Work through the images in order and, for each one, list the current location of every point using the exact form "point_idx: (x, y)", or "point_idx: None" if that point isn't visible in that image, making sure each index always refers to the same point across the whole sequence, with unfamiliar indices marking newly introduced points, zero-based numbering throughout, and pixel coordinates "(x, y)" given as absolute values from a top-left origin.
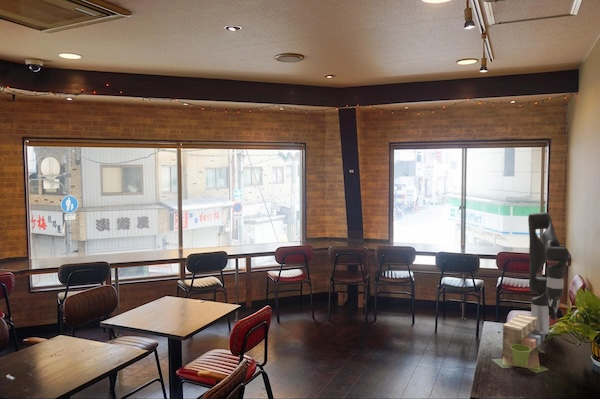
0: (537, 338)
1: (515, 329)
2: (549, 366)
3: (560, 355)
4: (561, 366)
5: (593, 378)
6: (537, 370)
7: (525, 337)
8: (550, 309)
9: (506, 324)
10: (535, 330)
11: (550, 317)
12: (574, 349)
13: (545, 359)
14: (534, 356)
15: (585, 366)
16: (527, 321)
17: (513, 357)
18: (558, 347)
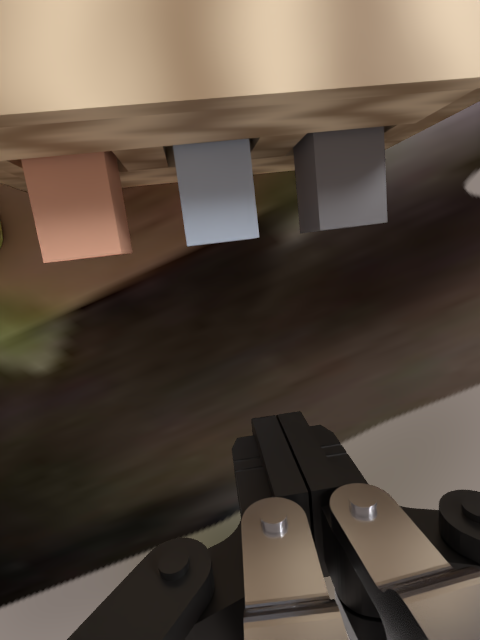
0: (186, 238)
1: None
2: (91, 359)
3: (312, 327)
4: (148, 400)
5: (120, 558)
6: None
7: (95, 154)
8: (165, 632)
9: None
10: (373, 135)
11: (253, 429)
12: (461, 339)
13: (181, 297)
14: (177, 229)
15: None
16: (267, 43)
17: None
18: (434, 265)
